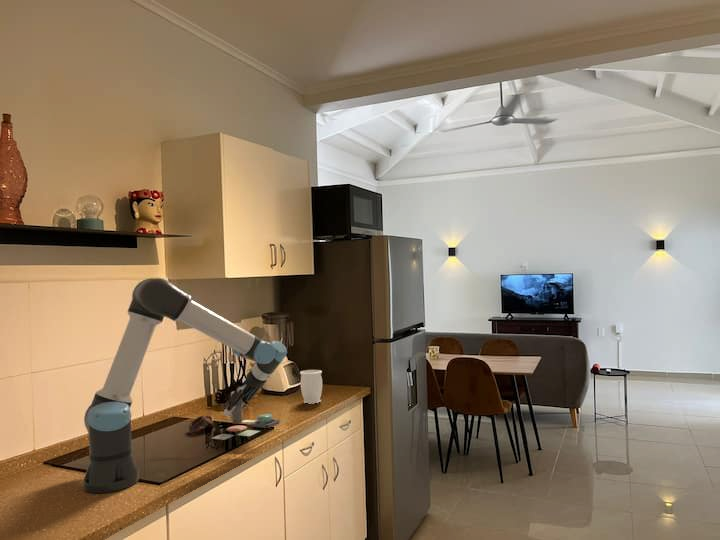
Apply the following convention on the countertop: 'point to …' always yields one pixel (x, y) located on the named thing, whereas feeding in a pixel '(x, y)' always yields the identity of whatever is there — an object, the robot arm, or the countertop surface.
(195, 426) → the dark brown rock
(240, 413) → the marker
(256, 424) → the colouring board
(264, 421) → the button
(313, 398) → the jar
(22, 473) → the countertop surface
